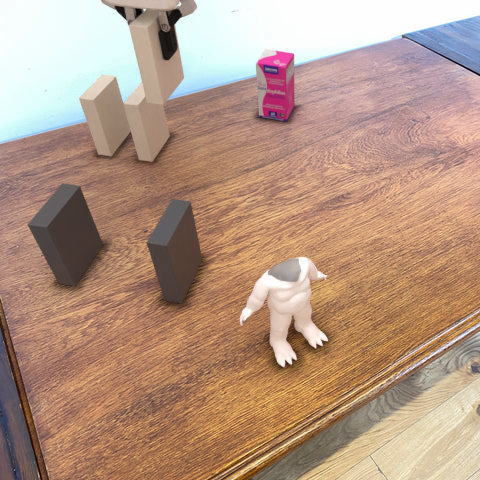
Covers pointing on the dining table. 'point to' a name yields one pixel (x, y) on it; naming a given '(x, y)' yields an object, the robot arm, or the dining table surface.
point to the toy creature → (287, 304)
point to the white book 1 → (105, 114)
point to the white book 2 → (154, 59)
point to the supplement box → (275, 84)
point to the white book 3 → (146, 124)
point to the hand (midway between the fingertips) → (159, 53)
